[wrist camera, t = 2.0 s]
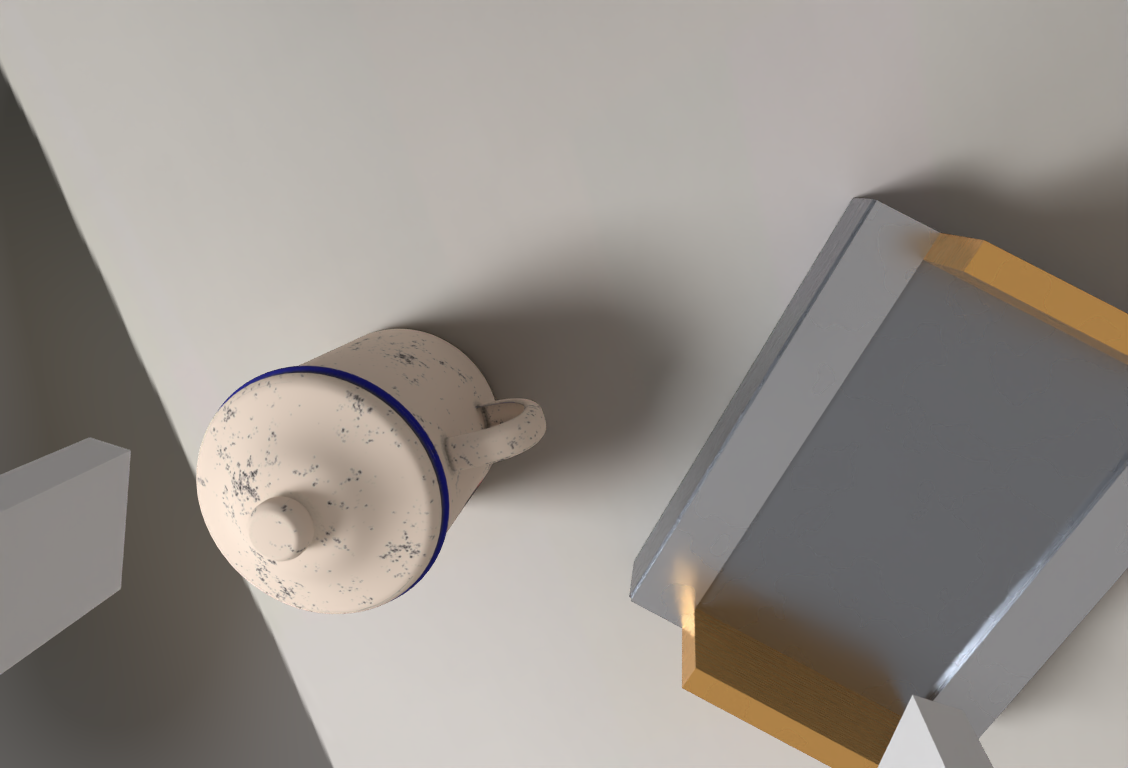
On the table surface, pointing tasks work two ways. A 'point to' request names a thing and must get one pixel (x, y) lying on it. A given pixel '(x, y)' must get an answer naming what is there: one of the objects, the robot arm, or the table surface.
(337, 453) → the teacup with lid
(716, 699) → the grey tray
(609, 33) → the table surface
